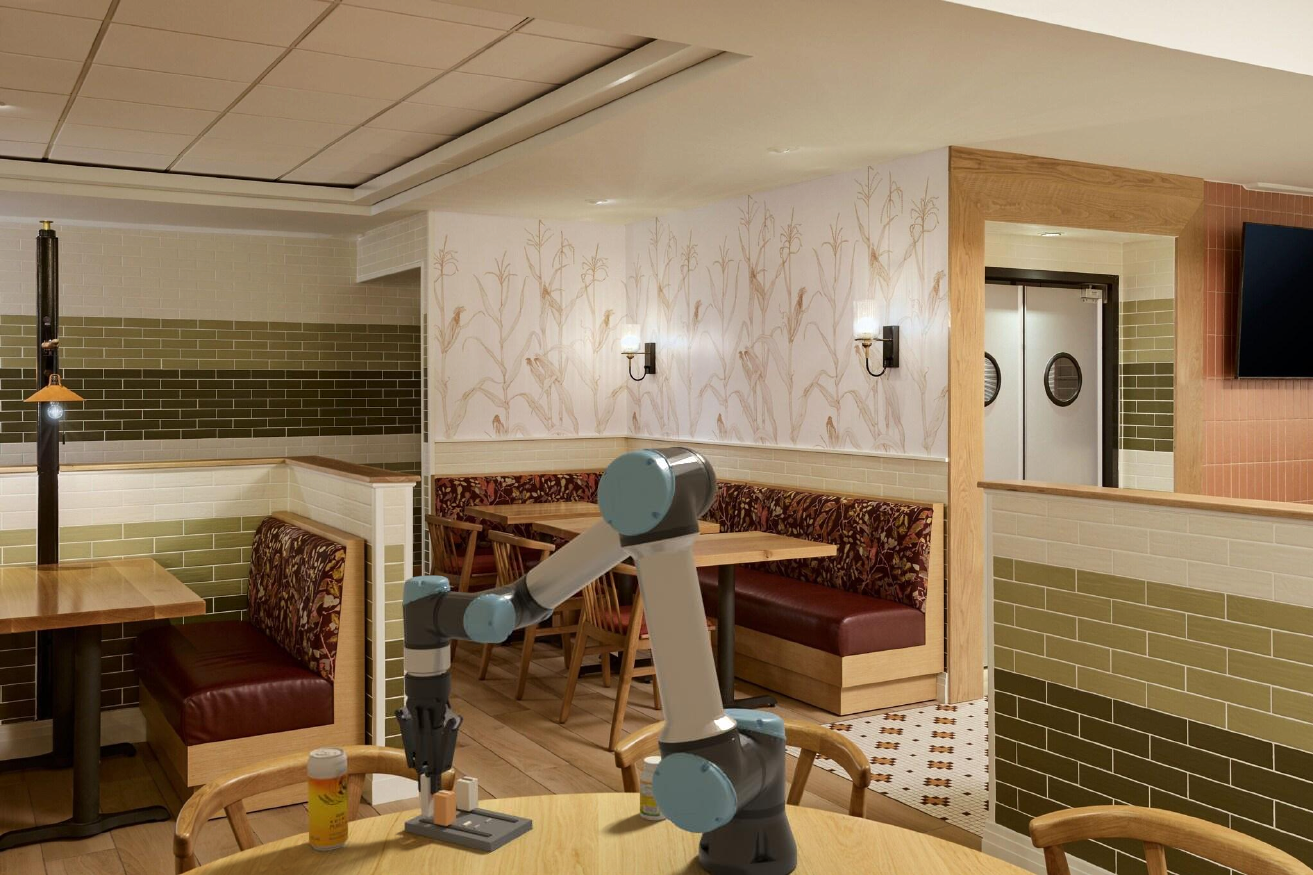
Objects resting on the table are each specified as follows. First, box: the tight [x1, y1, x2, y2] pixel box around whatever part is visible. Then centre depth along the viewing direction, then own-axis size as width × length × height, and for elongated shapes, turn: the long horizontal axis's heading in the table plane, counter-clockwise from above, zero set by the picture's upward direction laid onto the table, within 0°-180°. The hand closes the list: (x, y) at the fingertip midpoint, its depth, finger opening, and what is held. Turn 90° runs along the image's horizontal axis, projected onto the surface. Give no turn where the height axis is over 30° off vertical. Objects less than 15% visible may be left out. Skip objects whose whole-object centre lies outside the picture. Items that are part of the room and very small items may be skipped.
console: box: [404, 802, 533, 853], centre depth 187 cm, size 18×11×2 cm, turn 60°
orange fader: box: [434, 789, 457, 826], centre depth 185 cm, size 3×2×5 cm
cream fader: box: [456, 775, 479, 811], centre depth 192 cm, size 3×2×5 cm
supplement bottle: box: [639, 755, 667, 821], centre depth 193 cm, size 5×5×10 cm
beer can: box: [306, 746, 349, 852], centre depth 181 cm, size 6×6×15 cm
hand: (430, 812), depth 187 cm, fingers closed
